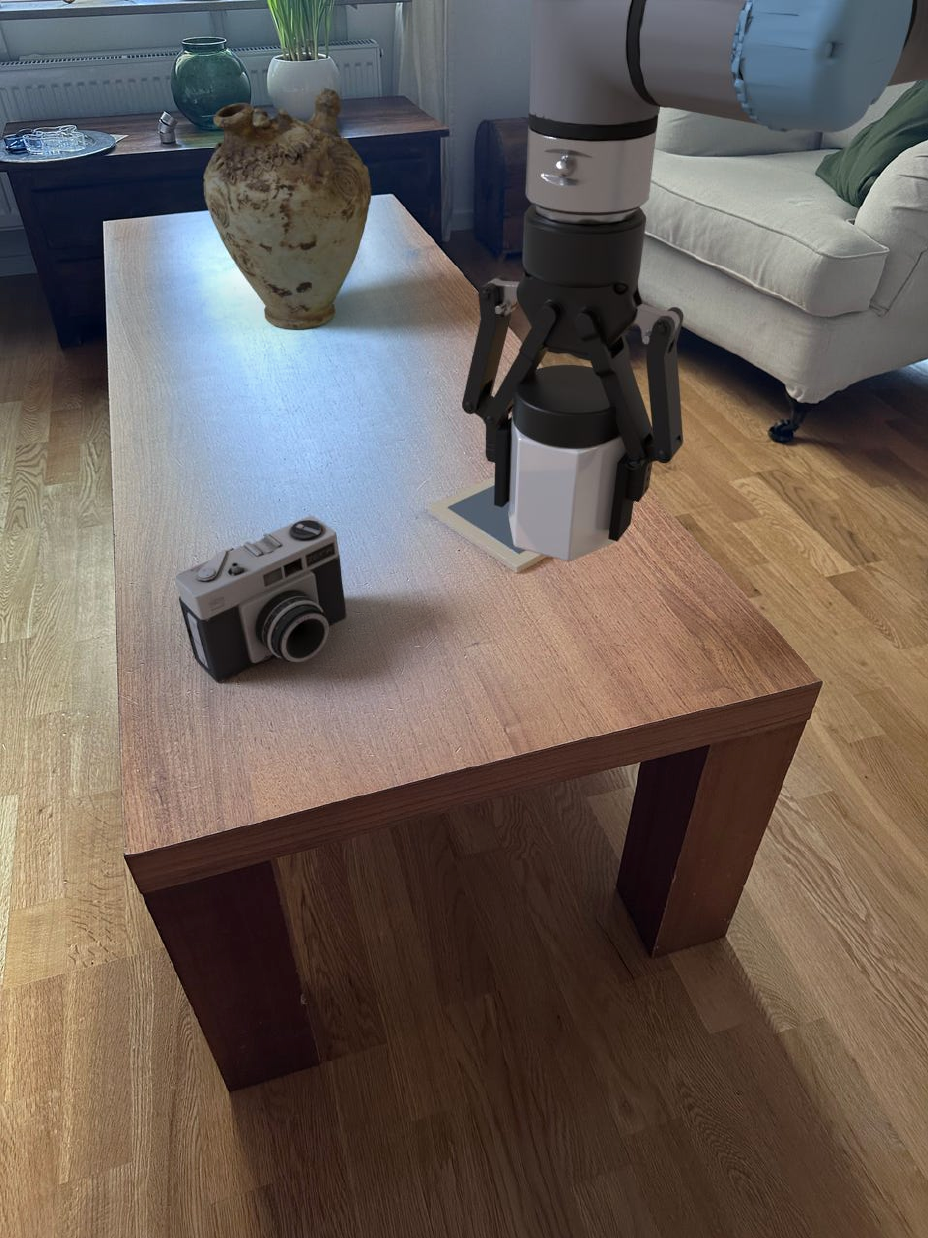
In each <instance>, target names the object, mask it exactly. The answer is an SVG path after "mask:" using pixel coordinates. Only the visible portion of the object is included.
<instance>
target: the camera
mask: <svg viewBox="0 0 928 1238" xmlns="http://www.w3.org/2000/svg"><path fill="white" fill-rule="evenodd" d="M262 536H263V538H261V539H259V540H257V541H255V542H252V543H251V542H250V541H246V542H244V543H243V545H241V546H240V545H239V546H238V547H236V548H235V547H230V548H228V549H224V550H221V551H219V552H217V553H216V554H214V556H212V558H210V559H209V560H207V561H204V562H202V563H200V564H197V565H195V566H193V567H191V568H188V569H186V570H183V571H181V572H179V573H178V574H177V575H176V576H175V577H174V579H175V582H176V583H175V584H176V586H177V590H178V593H179V596H178V603H179V605H180V610H181V613H182V617H183V621H184V624H185V629H186V631H187V636H188V639H189V642H190V646H191V650H192V653H193V657H194V659H195V660H196V663H197V664H198V665H199V666H200V667H201V668H202V669H203V670H204V671H205V672H206V673H207V674H208V675H209V676H210V677H211V678H212V679H213V680H214V681H215V682H216V683H218V684H220V683H223V682H224V681H227V680H228V679H231V678H232V677H234V676H236V675H238V674H240V673H242V672H244V671H246V670H248V669H250V668H252V667H254V666H255V665H257V664H259V663H262V662H264V661H267V660H268V659H269V658H271V657H273V656H276V657H277V658H279V659H283V660H284V661H286V662H288V663H301V662H305V661H308V660H309V659H311V658H312V657H315V656H316V655H317V654H318V653H319V652H320V651H321V649H322V648H323V647H324V646H325V644H326V642H327V640H328V638H329V634H330V627H331V626H333V625H335V624H336V623H339V622H340V621H342V620H344V619H346V618H347V609H346V602H345V601H346V599H345V593H344V583H343V576H342V567H341V555H340V551H339V550H340V549H339V544H338V543H339V542H338V535H337V532H336V531H335V530H334V529H333V528H331V527H330V526H328V525H327V524H326V523H324V522H323V521H321V520H320V519H318V518H317V517H316V516H315V515H308V516H306V517H304V518H301V519H300V520H297V521H294V522H292V523H290V524H288V525H285V526H282V527H281V528H279V529H277V530H274V531H271V532H270V533H264V534H263V535H262Z"/></svg>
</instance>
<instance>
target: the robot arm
mask: <svg viewBox="0 0 928 1238" xmlns="http://www.w3.org/2000/svg"><path fill="white" fill-rule="evenodd" d="M530 3H531V6H530V7H531V9H530V11H531V13H530V16H531V17H530V18H531V19H530V20H531V21H530V26H531V27H530V31H531V32H530V42H531V43H530V81H529V108H528V111H529V112H528V122H527V123H528V124H527V125H528V127H527V145H526V147H527V148H526V168H525V169H526V171H525V192H524V193H525V197H526V199H527V200H528V201H529V202H530V203H531V204H530V206H529V207H528V208H527V209H526V211H525V212H524V214H523V239H522V265H523V274H522V277H521V278H520V281H512V280H509V278H508V277H507V276H505V275H504V274H501V275H498V276H496V277H494V278H493V279H491V280H490V281H488V282H487V283H485V284H484V285H482V286H481V287H479V290H478V293H477V294H478V296H477V297H478V304H479V315H480V320H479V326H478V330H477V333H476V338H475V343H474V347H473V351H472V356H471V362H470V365H469V370H468V375H467V379H466V384H465V389H464V393H463V397H462V402H461V407H462V410H463V411H464V413H466V414H468V415H474V414H475V415H476V416H478V417H479V418H481V420H482V421H483V423H484V425H485V457H486V460H487V462H489V463H494V476H495V484H494V505H496V506H499V507H502V508H503V506H504V505H505V504H506V503H507V502H508V501H509V474H510V445H511V416H510V414H512V410H513V402H514V386H515V384H521V383H522V382H524V381H525V380H526V379H527V378H528V377H529V376H531V375H532V374H533V373H534V372H535V371H536V369H538V367H540V364H541V363H542V361H543V359H544V357H545V356H546V354H547V352H548V353H552V354H557V355H561V354H569V355H571V356H573V357H575V358H577V359H580V360H584V361H588V362H590V364H591V367H593V370H594V372H595V374H596V375H597V376H599V377H600V379H601V381H602V384H603V387H604V390H605V393H606V395H607V398H608V401H609V404H610V406H614V407H615V408H616V416H615V421H616V423H617V426H618V429H619V432H620V435H621V438H622V440H623V443H624V446H625V449H626V453H625V454H624V455H623V457H622V458H621V459H620V460H619V461H618V463H617V471H616V479H615V487H614V495H613V504H612V512H611V520H610V528H609V536H608V539H610V540H613V541H615V542H619V541H620V540H621V538H622V537H623V535H624V534H625V533H626V531H627V530H628V528H629V527H630V526H631V524H632V519H633V518H632V517H633V510H634V502H636V503H640V501H641V500H642V498H643V497H644V496H645V494H646V493H647V492H648V491H649V489H650V482H651V475H652V468H653V463H654V462H659V463H660V464H668V463H670V462H671V460H672V459H673V458H674V457H675V455H676V454H677V453H678V451H679V450H680V449H681V447H682V446H683V444H684V434H683V419H682V418H683V417H682V405H681V389H680V375H679V363H678V347H677V346H678V345H677V342H678V340H679V336H680V333H681V328H682V326H683V322H684V317H685V315H684V312H683V310H682V309H680V308H679V307H676V306H672V307H670V308H668V309H667V310H663V309H660V308H657V307H653V306H651V305H647V304H644V302H643V297H642V296H641V292H640V288H639V279H640V272H641V267H642V257H643V249H644V240H645V234H646V233H645V232H646V224H647V216H646V214H645V213H644V210H643V209H642V208H641V207H642V206H643V205H644V204H646V203H647V202H648V201H649V199H650V191H651V183H652V175H653V174H652V173H653V165H654V159H655V158H654V157H655V150H656V149H655V147H656V139H657V131H658V122H659V114H660V111H661V108H664V109H675V110H679V111H683V112H690V113H695V114H701V115H707V116H713V117H717V118H722V119H729V120H733V121H739V122H744V123H749V124H755V125H758V126H762V127H767V129H768V130H770V131H776V132H781V133H787V132H790V131H793V130H797V131H809V132H817V133H818V132H819V133H826V134H827V133H829V134H830V133H838V132H842V131H845V130H847V129H849V128H851V127H853V126H855V125H856V124H857V123H859V122H860V121H861V120H862V119H864V117H865V116H866V114H867V112H868V110H869V108H870V107H871V106H872V105H875V104H876V103H877V102H878V101H879V99H881V97H882V95H883V93H884V92H885V91H886V89H887V88H889V87H892V86H897V85H898V86H899V85H902V84H907V83H912V82H918V81H924V80H928V0H531V1H530ZM517 304H518V305H519V306H520V308H521V310H522V311H523V314H524V315H525V317H526V319H527V321H528V322H529V324H530V326H531V327H530V329H529V331H528V333H527V334H526V336H525V338H524V340H523V342H522V343H521V344H520V347H519V349H518V351H519V352H518V353H517V355H516V357H515V359H514V361H513V363H512V364H511V366H510V368H509V369H508V372H507V373H506V375H505V377H504V378H503V380H502V381H501V383H500V385H499V387H498V389H497V390H496V393H495V394H494V395H493V390H494V387H495V383H496V379H497V375H498V370H499V366H500V363H501V359H502V354H503V351H504V347H505V342H506V338H507V334H508V331H509V327H510V322H511V317H512V312H513V311H514V310H516V308H517ZM633 324H635V325H636V326H637V327H639V330H640V336H641V337H640V338H641V343H643V344H644V345H647V350H646V373H647V385H648V397H649V407H650V408H649V409H650V417H649V414H648V411H647V409H646V408H647V407H646V405H645V403H644V399H643V396H642V393H641V390H640V388H639V385H638V381H637V379H636V376H635V373H634V370H633V367H632V363H631V361H630V355H631V351H630V348H629V344H628V342H627V339H626V336H625V333H626V332H627V331H629V329H630V328H631V327H632V326H633ZM509 416H510V417H509Z"/></svg>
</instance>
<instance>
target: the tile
mask: <svg viewBox="0 0 928 1238" xmlns="http://www.w3.org/2000/svg"><path fill="white" fill-rule="evenodd" d="M494 484H495V475H494V476H493V477H490V478H488V479H486V480H483V481H482V482H478V483H477V484H475V485H472V486H471V487H468V488H466V489H464V490H462V491H459V492H457V493H455V494H452V495H450V496H449V497H447V498H444V499H442V500H440V501H437V502H435V503H433V504H431V505H429V506H427V514H428V515H430V516H431V517H433V519H434V518H435V519H436V520H437V521H439V522H440V523H442V524H443V525H445V526H446V527H448V528H449V529H451V530H452V531H454V532H455V533H456V534H459V536H461V537H463V538H464V539H465V540H467V541H469V542H470V543H471V544H473V545H474V546H476V547H477V548H479V549H480V550H481V551H482V552H484V553H486V554H487V555H489V556H490V557H492V558H493V559H495V560H496V561H498V562H500V563H501V564H502V565H504V566H505V567H507V568H508V569H510V570H512V571H513V572H515V573H516V574H519V573H520V572H523V571H524V570H526V569H528V568H530V567H532V566H533V565H536V564H537V563H539V562H541V561H543V560H545V559H546V558H549V557H548V556H545V555H541V554H538V553H534V552H531V551H527V550H523V549H520V548H516V547H515V546H514V543H513V538H512V532H511V527H510V522H509V516H508V502H509V501H508V502H507V503H506V504H505V505H504V506H503V508H502V507H499V506H496V505H494Z"/></svg>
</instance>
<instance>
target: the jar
mask: <svg viewBox="0 0 928 1238" xmlns="http://www.w3.org/2000/svg"><path fill="white" fill-rule="evenodd" d="M615 416H616V408H615V407H614V406H610V404H609V401H608V398H607V395H606V393H605V390H604V387H603V384H602V381H601V379H600V377H599V376H597V375H596V374H595V372H594V370H593V367H592V366H587V365H577V364H556V365H555V364H554V365H548V366H543V367H539V368H537V369H536V371H535V372H534V373H533V374H532V375H531V376H529V377H528V378H527V379H526V380H525V381H524V382H522V383H521V384H515V386H514V402H513V410H512V412H511V416H510V417H511V445H510V474H509V502H508V516H509V522H510V527H511V532H512V538H513V543H514V546H515V547H516V548H520V549H523V550H527V551H531V552H534V553H538V554H541V555H545V556H548V557H547V558H552V559H555V560H560V561H563V562H566V563H570V562H573V561H575V560H578V559H580V558H582V557H584V556H588V555H589V554H593V553H594V552H596V551H598V550H599V551H600V550H601V549H603V548H606V547H609V546H611V545H613V544H614V543H615V542H616V541H613V540H610V539H608V536H609V528H610V520H611V512H612V504H613V495H614V487H615V479H616V471H617V463H618V461H619V460H620V459H621V458H622V457H623V455H624V454H625V453H626V449H625V446H624V443H623V440H622V438H621V435H620V432H619V429H618V426H617V423H616V421H615Z"/></svg>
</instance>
